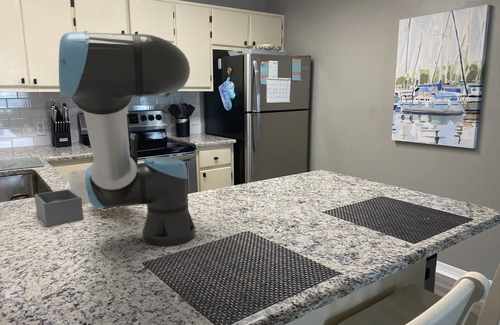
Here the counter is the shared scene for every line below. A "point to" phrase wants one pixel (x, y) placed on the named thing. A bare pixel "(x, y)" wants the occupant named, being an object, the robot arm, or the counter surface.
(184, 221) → the robot arm
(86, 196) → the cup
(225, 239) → the counter surface
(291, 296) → the counter surface
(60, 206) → the tub
